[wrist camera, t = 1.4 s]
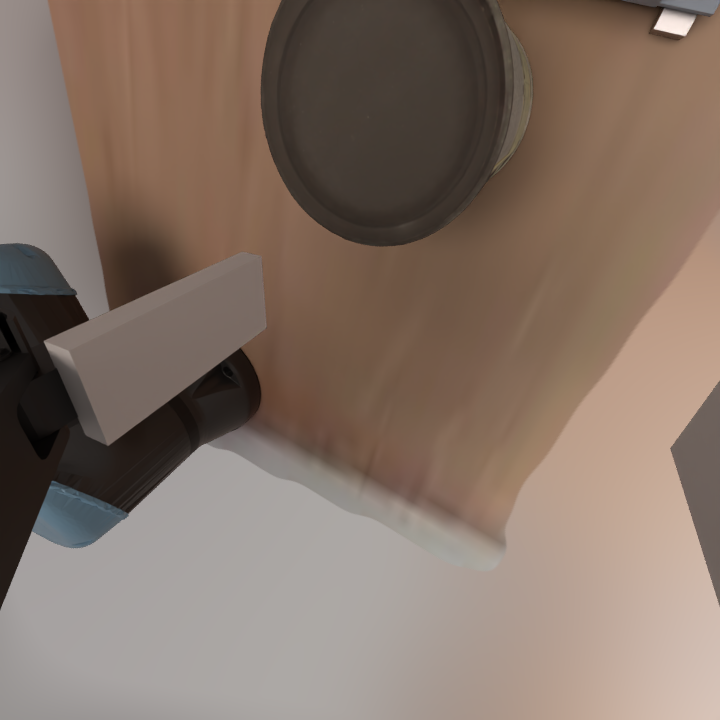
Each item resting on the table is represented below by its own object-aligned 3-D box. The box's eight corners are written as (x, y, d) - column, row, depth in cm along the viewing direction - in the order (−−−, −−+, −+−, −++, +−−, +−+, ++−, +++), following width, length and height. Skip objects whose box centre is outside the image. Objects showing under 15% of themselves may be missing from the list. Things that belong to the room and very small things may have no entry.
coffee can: (470, 222, 29) (414, 290, 18) (355, 146, 30) (235, 169, 19) (575, 64, 23) (587, 25, 12) (426, -28, 23) (306, -148, 12)
